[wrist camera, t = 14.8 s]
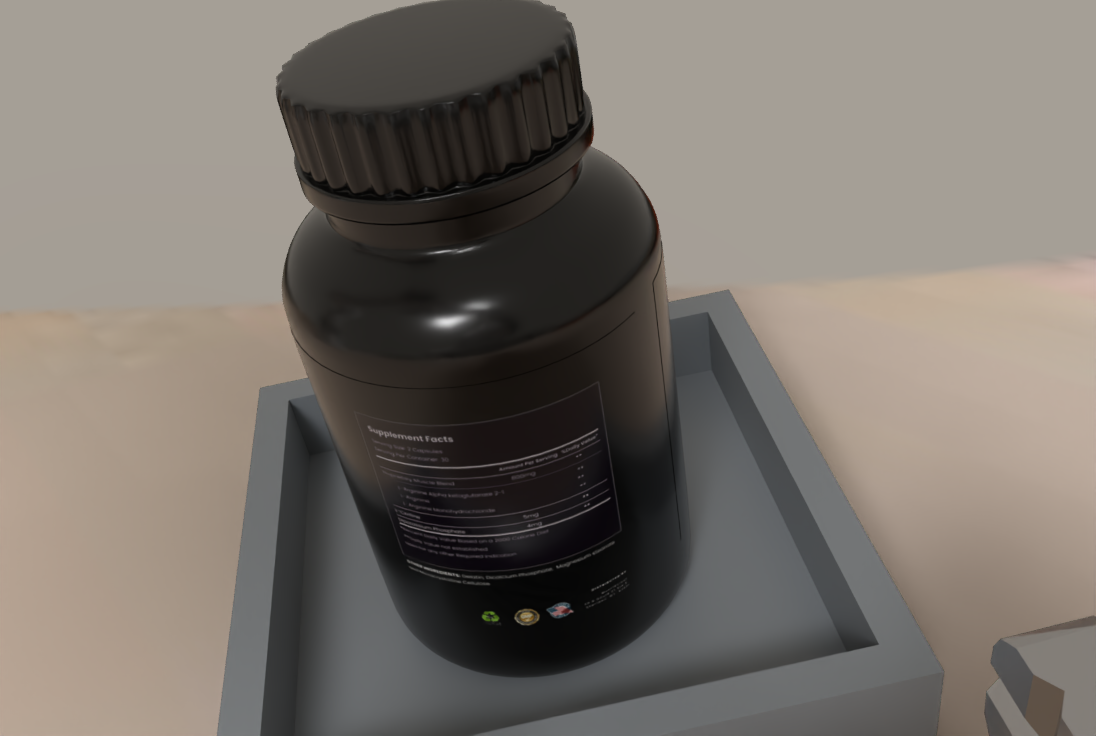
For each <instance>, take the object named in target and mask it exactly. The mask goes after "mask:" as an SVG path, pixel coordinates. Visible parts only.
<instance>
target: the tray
mask: <svg viewBox="0 0 1096 736" xmlns="http://www.w3.org/2000/svg"><path fill="white" fill-rule="evenodd" d="M668 305H669V315H670V325H671V334H672V344H673V354H674V364H675V374H676V383H677V393H678V403H679V413H680V423H681V432H682V442H683V452H684V462H685V472H686V482H687V492H688V505H689V518H690V532H691V543H690V556H689V561H688V566H687V569H686V572H685V575H684V578H683V581H682V583H681V585H680V587H679V590H678V592H677V594H676V595H675V597H674V599H673V600H672V602H671V603H670V605H669V606H668V608H667V609H666V610H665V611H664V613H663V614H662V615H661V617H660V618H659V619H658V620H657V621H656V622H655V623H654V624H653V625H652V626H651V627H650V628H649V629H648V630H647V631H646V632H645V633H644V634H642V635H641V636H640V637H639V638H638V639H636V640H635V641H634V642H632V643H631V644H629V645H628V646H627V647H625V648H623V649H622V650H620V651H618V652H617V653H615V654H613V655H611V656H609V657H607V658H605V659H603V660H601V661H599V662H597V663H594V664H592V665H589V666H586V667H584V668H581V669H577V670H574V671H571V672H566V673H562V674H557V675H551V676H544V677H531V678H512V677H500V676H493V675H487V674H483V673H479V672H475V671H472V670H469V669H466V668H463V667H460V666H458V665H456V664H454V663H451V662H449V661H447V660H445V659H444V658H442V657H440V656H438V655H437V654H435V653H434V652H432V651H431V650H430V649H428V648H427V647H426V646H425V645H424V644H422V643H421V642H420V641H419V640H418V639H417V638H416V637H415V636H414V635H413V634H412V633H411V631H410V630H409V629H408V628H407V626H406V625H405V624H404V622H403V620H402V619H401V617H400V616H399V614H398V612H397V610H396V608H395V606H394V603H393V601H392V599H391V596H390V594H389V591H388V589H387V586H386V584H385V581H384V579H383V576H382V574H381V572H380V569H379V566H378V564H377V561H376V558H375V556H374V553H373V550H372V548H371V545H370V542H369V540H368V537H367V534H366V531H365V529H364V526H363V523H362V521H361V518H360V515H359V513H358V510H357V507H356V505H355V502H354V499H353V496H352V494H351V491H350V488H349V486H348V483H347V480H346V478H345V475H344V472H343V470H342V467H341V464H340V461H339V459H338V456H337V453H336V451H335V448H334V445H333V443H332V440H331V437H330V435H329V432H328V429H327V426H326V424H325V421H324V418H323V416H322V413H321V410H320V408H319V405H318V402H317V400H316V397H315V394H314V391H313V389H312V386H311V383H310V381H309V378H305V379H300V380H295V381H291V382H286V383H281V384H276V385H271V386H267V387H262V388H260V392H259V400H258V408H257V416H256V424H255V432H254V440H253V448H252V456H251V465H250V473H249V481H248V489H247V497H246V505H245V513H244V521H243V529H242V537H241V545H240V553H239V561H238V569H237V578H236V586H235V594H234V602H233V610H232V618H231V626H230V634H229V642H228V650H227V658H226V666H225V674H224V683H223V691H222V699H221V707H220V715H219V723H218V731H217V736H937V727H938V719H939V711H940V703H941V694H942V686H943V678H944V670H943V669H942V667H941V665H940V663H939V661H938V660H937V658H936V656H935V654H934V653H933V651H932V649H931V647H930V645H929V644H928V642H927V640H926V638H925V637H924V635H923V633H922V631H921V630H920V628H919V626H918V624H917V622H916V621H915V619H914V617H913V615H912V614H911V612H910V610H909V608H908V606H907V605H906V603H905V601H904V599H903V598H902V596H901V594H900V592H899V591H898V589H897V587H896V585H895V583H894V582H893V580H892V578H891V576H890V575H889V573H888V571H887V569H886V567H885V566H884V564H883V562H882V560H881V559H880V557H879V555H878V553H877V552H876V550H875V548H874V546H873V544H872V543H871V541H870V539H869V537H868V536H867V534H866V532H865V530H864V528H863V527H862V525H861V523H860V521H859V520H858V518H857V516H856V514H855V513H854V511H853V509H852V507H851V505H850V504H849V502H848V500H847V498H846V497H845V495H844V493H843V491H842V489H841V488H840V486H839V484H838V482H837V481H836V479H835V477H834V475H833V474H832V472H831V470H830V468H829V466H828V465H827V463H826V461H825V459H824V458H823V456H822V454H821V452H820V450H819V449H818V447H817V445H816V443H815V442H814V440H813V438H812V436H811V435H810V433H809V431H808V429H807V427H806V426H805V424H804V422H803V420H802V419H801V417H800V415H799V413H798V411H797V410H796V408H795V406H794V404H793V403H792V401H791V399H790V397H789V396H788V394H787V392H786V390H785V388H784V387H783V385H782V383H781V381H780V380H779V378H778V376H777V374H776V372H775V371H774V369H773V367H772V365H771V364H770V362H769V360H768V358H767V357H766V355H765V353H764V351H763V349H762V348H761V346H760V344H759V342H758V341H757V339H756V337H755V335H754V333H753V332H752V330H751V328H750V326H749V325H748V323H747V321H746V319H745V318H744V316H743V314H742V312H741V310H740V309H739V307H738V305H737V303H736V302H735V300H734V298H733V296H732V294H731V293H730V291H729V290H725V291H720V292H715V293H710V294H706V295H701V296H696V297H691V298H686V299H682V300H677V301H672V302H668Z"/></svg>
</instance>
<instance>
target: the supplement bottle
mask: <svg viewBox="0 0 1096 736" xmlns="http://www.w3.org/2000/svg"><path fill="white" fill-rule="evenodd" d="M282 70H283V71H282V72H281V73H280V74H279V75H278V76H277V77H276V79H277V86H276V95H277V100H278V104H279V107H280V110H281V113H282V116H283V119H284V122H285V125H286V129H287V131H288V135H289V138H290V141H291V143H292V147H293V150H294V152H295V157H294V164H295V169H296V172H297V175H298V178H299V181H300V184H301V187H302V190H303V193H304V195H305V197H306V198H307V199H308V201H309V202H310V203H311V204H312V205H314V207H313V209H312V210H311V211H310V212H309V213H308V215H307V216H306V217H305V219H304V220H303V222H302V223H301V225H300V226H299V228H298V230H297V231H296V233H295V236H294V238H293V240H292V242H291V244H290V247H289V250H288V254H287V257H286V261H285V265H284V270H283V278H282V297H283V304H284V307H285V311H286V315H287V318H288V322H289V324H290V328H291V332H292V335H293V337H294V340H295V343H296V346H297V348H298V351H299V354H300V356H301V359H302V362H303V365H304V367H305V370H306V373H307V375H308V378H309V381H310V383H311V386H312V389H313V391H314V394H315V397H316V400H317V402H318V405H319V408H320V410H321V413H322V416H323V418H324V421H325V424H326V426H327V429H328V432H329V435H330V437H331V440H332V443H333V445H334V448H335V451H336V453H337V456H338V459H339V461H340V464H341V467H342V470H343V472H344V475H345V478H346V480H347V483H348V486H349V488H350V491H351V494H352V496H353V499H354V502H355V505H356V507H357V510H358V513H359V515H360V518H361V521H362V523H363V526H364V529H365V531H366V534H367V537H368V540H369V542H370V545H371V548H372V550H373V553H374V556H375V558H376V561H377V564H378V566H379V569H380V572H381V574H382V576H383V579H384V581H385V584H386V586H387V589H388V591H389V594H390V596H391V599H392V601H393V603H394V606H395V608H396V610H397V612H398V614H399V616H400V617H401V619H402V620H403V622H404V624H405V625H406V626H407V628H408V629H409V630H410V631H411V633H412V634H413V635H414V636H415V637H416V638H417V639H418V640H419V641H420V642H421V643H422V644H424V645H425V646H426V647H427V648H428V649H430V650H431V651H432V652H434V653H435V654H437V655H438V656H440V657H442V658H444V659H445V660H447V661H449V662H451V663H454V664H456V665H458V666H460V667H463V668H466V669H469V670H472V671H475V672H479V673H483V674H487V675H493V676H500V677H512V678H531V677H544V676H551V675H557V674H562V673H566V672H571V671H574V670H577V669H581V668H584V667H586V666H589V665H592V664H594V663H597V662H599V661H601V660H603V659H605V658H607V657H609V656H611V655H613V654H615V653H617V652H618V651H620V650H622V649H623V648H625V647H627V646H628V645H629V644H631V643H632V642H634V641H635V640H636V639H638V638H639V637H640V636H641V635H642V634H644V633H645V632H646V631H647V630H648V629H649V628H650V627H651V626H652V625H653V624H654V623H655V622H656V621H657V620H658V619H659V618H660V617H661V615H662V614H663V613H664V611H665V610H666V609H667V608H668V606H669V605H670V603H671V602H672V600H673V599H674V597H675V595H676V594H677V592H678V590H679V587H680V585H681V583H682V581H683V578H684V575H685V572H686V569H687V566H688V561H689V556H690V543H691V532H690V518H689V505H688V492H687V482H686V472H685V462H684V452H683V442H682V432H681V423H680V413H679V403H678V393H677V383H676V374H675V364H674V354H673V344H672V334H671V325H670V315H669V305H668V295H667V285H666V276H665V266H664V256H663V249H662V241H661V235H660V229H659V224H658V220H657V216H656V213H655V210H654V208H653V206H652V204H651V201H650V200H649V198H648V196H647V195H646V193H645V192H644V190H643V189H642V188H641V186H640V185H639V183H638V182H637V181H636V180H635V179H634V177H633V176H632V175H631V174H629V172H628V171H627V170H626V169H625V168H624V167H623V166H621V165H620V164H619V163H617V162H616V161H615V160H614V159H612V158H611V157H609V156H607V155H605V154H604V153H603V152H601V151H599V150H597V149H595V148H593V147H591V144H592V141H593V136H594V126H593V115H592V107H591V102H590V99H589V97H588V95H587V94H586V92H585V91H584V90H583V86H582V78H581V71H580V64H579V57H578V50H577V43H576V36H575V32H574V29H573V26H572V23H571V22H569V21H568V20H567V17H566V14H565V13H562V12H559V11H556V8H555V7H554V6H550V5H545V4H543V3H542V2H540V1H536V0H439V1H431V2H423V3H419V4H416V5H412V6H407V7H401V8H397V9H394V10H391V11H388V12H384V13H379V14H375V15H372V16H370V17H367V18H365V19H363V20H359V21H356V22H352V23H350V24H348V25H346V26H344V27H342V28H340V29H337V30H334V31H332V32H329V33H327V34H326V35H324V36H323V37H322V38H320V39H318V40H315V41H313V42H311V43H309V44H308V45H307V46H306V47H305V48H304V49H302V50H300V51H298V52H297V53H295V54H293V56H292V58H291V60H289V61H288V62H287V63H285V64H284V65H282Z"/></svg>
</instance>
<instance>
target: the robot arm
mask: <svg viewBox="0 0 1096 736" xmlns="http://www.w3.org/2000/svg"><path fill="white" fill-rule="evenodd" d="M991 664H992V666H993V667H994V669H995V671H996V672H997V674H998V676H999V677H1000V678H999V679H998V680H997V681H996V682H995V683H994V684H993V685H992V686H991V687H990V688H989V689H988V690H987V691H986V701H985V712H984V713H985V718H986V723H987V727H988V732H989V736H1096V616H1090V617H1086V618H1082V619H1078V620H1074V621H1070V622H1066V623H1062V624H1058V625H1054V626H1050V627H1046V628H1042V629H1038V630H1034V631H1030V632H1026V633H1022V634H1018V635H1014V636H1010V637H1006V638H1002V639H1000V640H999V641H998V642H997V643H996V644H995V645H994V646H993V652H992V658H991Z"/></svg>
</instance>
